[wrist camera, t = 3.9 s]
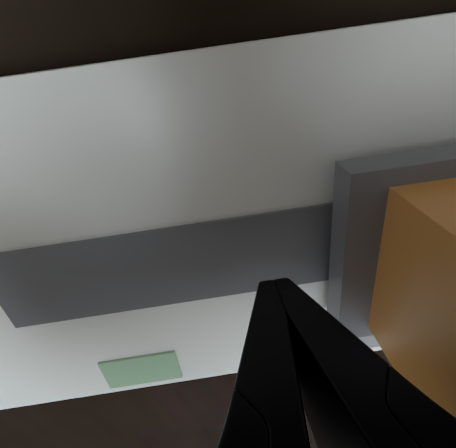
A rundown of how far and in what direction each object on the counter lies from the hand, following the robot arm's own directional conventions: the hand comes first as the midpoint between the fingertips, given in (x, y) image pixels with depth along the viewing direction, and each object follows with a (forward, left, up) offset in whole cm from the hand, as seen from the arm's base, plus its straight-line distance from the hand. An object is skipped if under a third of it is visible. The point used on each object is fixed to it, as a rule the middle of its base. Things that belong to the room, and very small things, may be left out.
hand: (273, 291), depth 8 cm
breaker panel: (+1, 0, -4) cm, 4 cm away
